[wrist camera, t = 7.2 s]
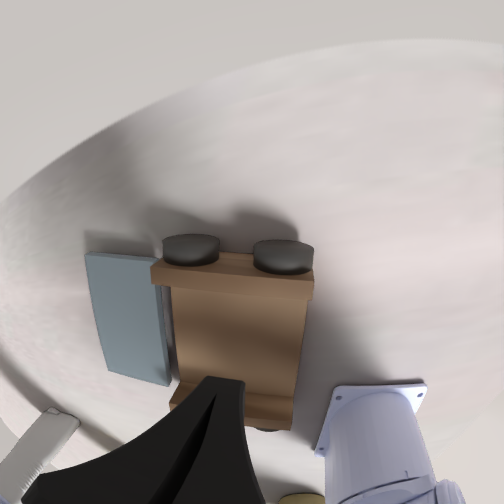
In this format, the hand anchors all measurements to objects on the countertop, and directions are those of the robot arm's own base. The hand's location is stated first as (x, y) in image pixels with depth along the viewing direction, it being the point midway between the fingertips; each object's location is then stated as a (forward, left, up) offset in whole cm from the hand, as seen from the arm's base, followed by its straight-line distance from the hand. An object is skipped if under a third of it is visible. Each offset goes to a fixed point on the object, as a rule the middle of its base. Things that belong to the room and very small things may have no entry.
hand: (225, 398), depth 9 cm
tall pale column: (-23, +26, -10) cm, 36 cm away
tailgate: (-3, +6, -8) cm, 11 cm away
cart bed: (-3, +1, -9) cm, 10 cm away
